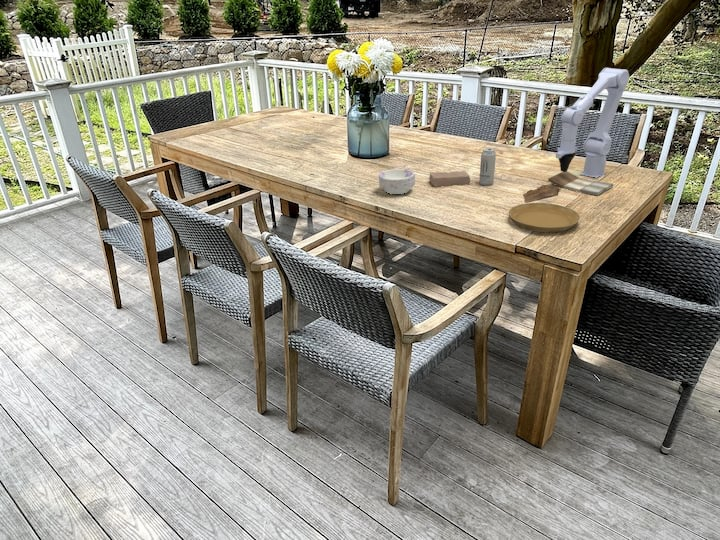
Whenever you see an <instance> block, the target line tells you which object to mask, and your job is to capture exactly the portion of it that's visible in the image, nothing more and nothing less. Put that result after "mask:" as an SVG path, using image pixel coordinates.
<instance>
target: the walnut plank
mask: <svg viewBox="0 0 720 540" xmlns="http://www.w3.org/2000/svg"><path fill="white" fill-rule="evenodd" d="M578 178H580V177H579V176H577V175H575V174H572V173H571V172H569V171H568V170H567V171H566V172H563V171H560V172H559V173H558V174H556V175H553V176H550V177H548V180H547V181H548V182H549V183H551V184H552V185H557V186H559V187H560V189H563V186H564V185H566V184H568V183H570V182H572V181H574V180H576V179H578Z"/></svg>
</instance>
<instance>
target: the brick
mask: <svg viewBox="0 0 720 540" xmlns="http://www.w3.org/2000/svg"><path fill="white" fill-rule="evenodd" d="M428 179H429V182H431V183H430V184H431V186H433V187H434V188H437V187H439V188H442V187H441V186H444V187H454V186H453V185H457V186H466V185H465V184H467V185H470V184H471V177H470V174H469V173H468V172H467V171H465V170H461V171H459V170H458V171H457V170H456V171H450V172H447V171H443V172H437V171H436V172H434V171H433V172H432V171H431V172H430V173H429V176H428Z"/></svg>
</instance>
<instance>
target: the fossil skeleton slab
mask: <svg viewBox="0 0 720 540" xmlns="http://www.w3.org/2000/svg"><path fill="white" fill-rule="evenodd" d="M560 190H561V188H560V187H559V186H557V185H555V184H543V185H541V186H540V187H537V188H535V189H529V190H527V192H525V193H523V195H522V196H523V199H524V203H531V202H532V201H536V200H540V199H544V198H547V197H548V198H549V197H551V196H552V197H553V196H558V195H559V192H560Z"/></svg>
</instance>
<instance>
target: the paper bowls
mask: <svg viewBox="0 0 720 540" xmlns="http://www.w3.org/2000/svg"><path fill="white" fill-rule="evenodd" d="M378 184H379V185H378V186H379V188H381V189H383V190H384V192H385V193H386V192H387V193H386V194H388V193H391V194H390V195H392V194H401V195H405V194H407V193H409V191H410V190H411V189H412V188H413V187H414V186H415V185H416V173H415V172H414V171H413V170H410V169H406V168H392V169H387V170H384V171H383V170H382V171H381V172H380V173H379V174H378ZM404 193H405V194H404Z"/></svg>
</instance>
